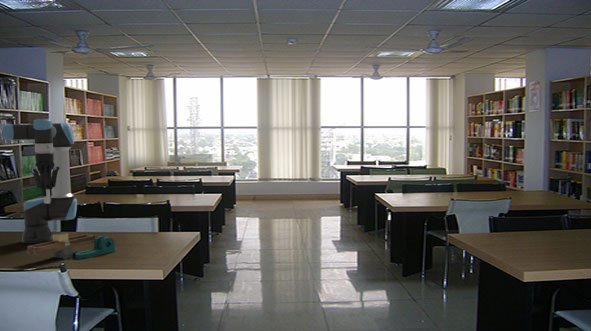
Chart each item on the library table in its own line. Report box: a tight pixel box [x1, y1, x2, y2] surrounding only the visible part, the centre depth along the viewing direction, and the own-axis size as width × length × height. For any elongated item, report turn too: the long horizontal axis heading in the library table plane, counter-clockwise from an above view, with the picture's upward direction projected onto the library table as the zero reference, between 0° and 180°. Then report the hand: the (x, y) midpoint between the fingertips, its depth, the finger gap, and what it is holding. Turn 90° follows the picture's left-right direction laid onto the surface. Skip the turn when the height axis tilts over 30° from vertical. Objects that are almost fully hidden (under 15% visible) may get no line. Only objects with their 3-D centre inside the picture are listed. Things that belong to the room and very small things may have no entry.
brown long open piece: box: [26, 233, 96, 260], centre depth 233 cm, size 9×30×8 cm, turn 149°
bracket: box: [74, 235, 116, 260], centre depth 236 cm, size 18×7×8 cm, turn 144°
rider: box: [52, 232, 69, 244], centre depth 232 cm, size 4×5×5 cm
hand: (47, 203), depth 228 cm, fingers closed
